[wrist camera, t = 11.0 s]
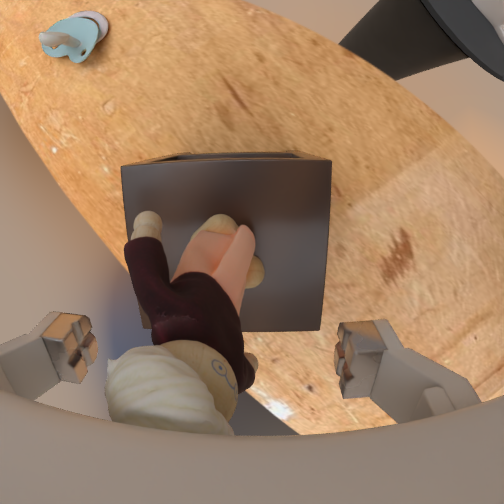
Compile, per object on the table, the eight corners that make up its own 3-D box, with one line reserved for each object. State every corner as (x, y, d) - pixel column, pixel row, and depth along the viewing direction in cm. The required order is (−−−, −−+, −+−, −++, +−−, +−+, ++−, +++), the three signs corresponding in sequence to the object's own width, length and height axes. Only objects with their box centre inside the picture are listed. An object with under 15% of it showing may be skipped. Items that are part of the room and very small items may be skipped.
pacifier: (72, 9, 21) (47, 56, 23) (42, -9, 15) (13, 45, 17) (122, 18, 22) (95, 69, 24) (96, -5, 16) (62, 56, 18)
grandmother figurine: (295, 275, 17) (347, 497, 5) (243, 314, 18) (227, 531, 6) (200, 167, 15) (36, 266, 3) (148, 216, 16) (-20, 371, 4)
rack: (298, 150, 27) (332, 160, 15) (296, 255, 31) (320, 331, 18) (177, 153, 27) (120, 166, 15) (184, 255, 31) (142, 329, 19)
